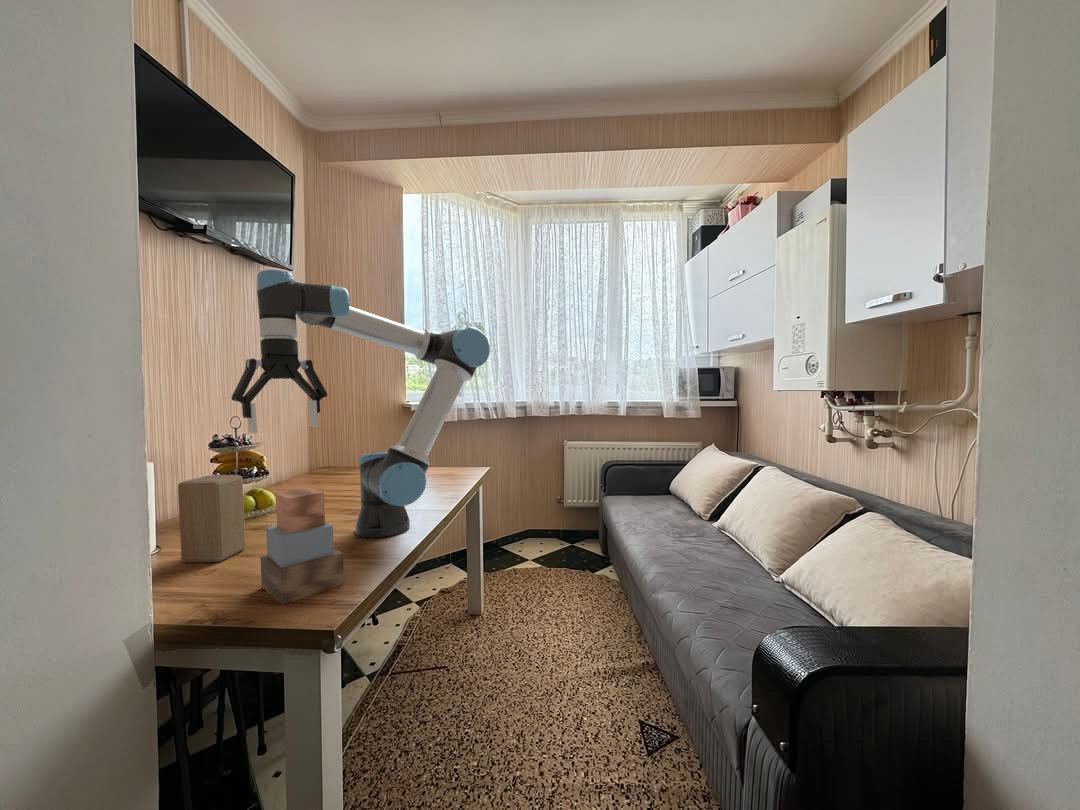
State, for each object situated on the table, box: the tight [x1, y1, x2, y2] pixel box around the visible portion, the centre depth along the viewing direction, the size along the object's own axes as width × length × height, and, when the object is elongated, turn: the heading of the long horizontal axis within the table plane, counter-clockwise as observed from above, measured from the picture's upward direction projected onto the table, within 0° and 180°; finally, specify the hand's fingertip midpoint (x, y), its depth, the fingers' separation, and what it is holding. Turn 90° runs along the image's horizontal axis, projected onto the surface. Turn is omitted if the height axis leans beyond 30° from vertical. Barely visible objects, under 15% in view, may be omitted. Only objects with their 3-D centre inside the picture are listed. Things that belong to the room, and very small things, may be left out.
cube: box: [275, 487, 326, 533], centre depth 95 cm, size 7×7×7 cm
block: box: [177, 474, 246, 563], centre depth 115 cm, size 10×10×20 cm
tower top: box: [265, 521, 335, 568], centre depth 95 cm, size 10×10×6 cm
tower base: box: [259, 548, 345, 606], centre depth 96 cm, size 12×12×7 cm
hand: (284, 429), depth 106 cm, fingers open, 13 cm apart
